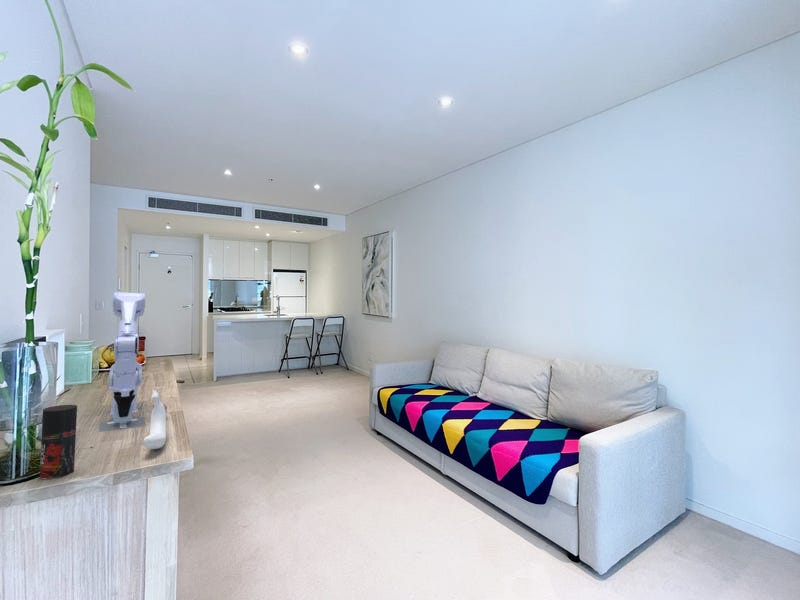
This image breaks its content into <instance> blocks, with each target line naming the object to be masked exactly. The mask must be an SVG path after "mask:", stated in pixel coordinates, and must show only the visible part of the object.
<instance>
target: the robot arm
mask: <svg viewBox="0 0 800 600" xmlns="http://www.w3.org/2000/svg"><path fill="white" fill-rule="evenodd" d="M112 296H113V297H112V308H113V309H112V310H113V311H112V312H113V313H114V314H113V315H114V316H115V317H118V318H120V321H119V322H118V323H117V326H116V327H117V328H116V337H115V338H114V343H113V353H114V360H115V361H114V363H113V364H112V365H111V367H109V374H108V375H109V376H108V390H109V391H112V405H111V406H112V408H110V415H111V416H113V407H114V404H115V403H117V406H118V412H119V417H128V414H129V410H130V406H131V403H133V413H137V412H139V410H138V407H137V405H138V403H137V401H138V400H137V399H138V387H140V386H141V385H142V382H143V381H142V380H143V365H142V364H141V362H137V357H138V353H139V349H140V347H139V342H140V339H139V338H140V337H139V334H138V331H139V325H138V322H137V320H138V318H139V317H141V316H144V313H145V308H146V293H145V292H142V293H141V292H124V291H123V292H122V291H121V292H119V291H115V292H113V294H112ZM135 350H136V351H135Z"/></svg>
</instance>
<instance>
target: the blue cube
mask: <svg viewBox="0 0 800 600" xmlns="http://www.w3.org/2000/svg"><path fill="white" fill-rule="evenodd" d="M133 413H134V412H133V403H131V406H130V410H129V414H128V417H119V412H118V406H117V403H115V404H114V407H113V415H112V421H113V423H116V422H124V421H132V418H133Z"/></svg>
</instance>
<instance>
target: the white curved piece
mask: <svg viewBox="0 0 800 600" xmlns="http://www.w3.org/2000/svg"><path fill="white" fill-rule="evenodd" d="M151 392H152V394H151V399H153V402H154V408H153V407H152V411H151V416H150V421H149V435H148V436H146V437H144V438H143V440H142V442H143V446H144V447H145V448H147V449H150V450H158V449H161V448H162V447H164V445H165V443H166V442H167V441H166V440H167V410H166V411H165V407H164V405H163V402H162V401H161V400H160V396H159V393H158V392H157V391H156V390H155V389H152V390H151Z"/></svg>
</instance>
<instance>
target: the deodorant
mask: <svg viewBox="0 0 800 600" xmlns="http://www.w3.org/2000/svg"><path fill="white" fill-rule="evenodd" d="M77 418H78V405H76V404H62V405H61V404H60V405H53V406H48V407H45V408H43V409H42V419H41V421H42V424H41V436H40V437H41V441H40V443H41V444H40V456H39V457H40V459H39V475H40V477H41V478H47V479H46V480H51V479H50V478H54V479H58V478H62V477H65V476H68V475H70V474H73V473H74V472H75V460H76V459H75V457H76V439H77V438H76V437H77V421H78V419H77ZM40 477H39V478H40ZM41 478H40V479H41ZM48 478H49V479H48Z"/></svg>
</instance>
